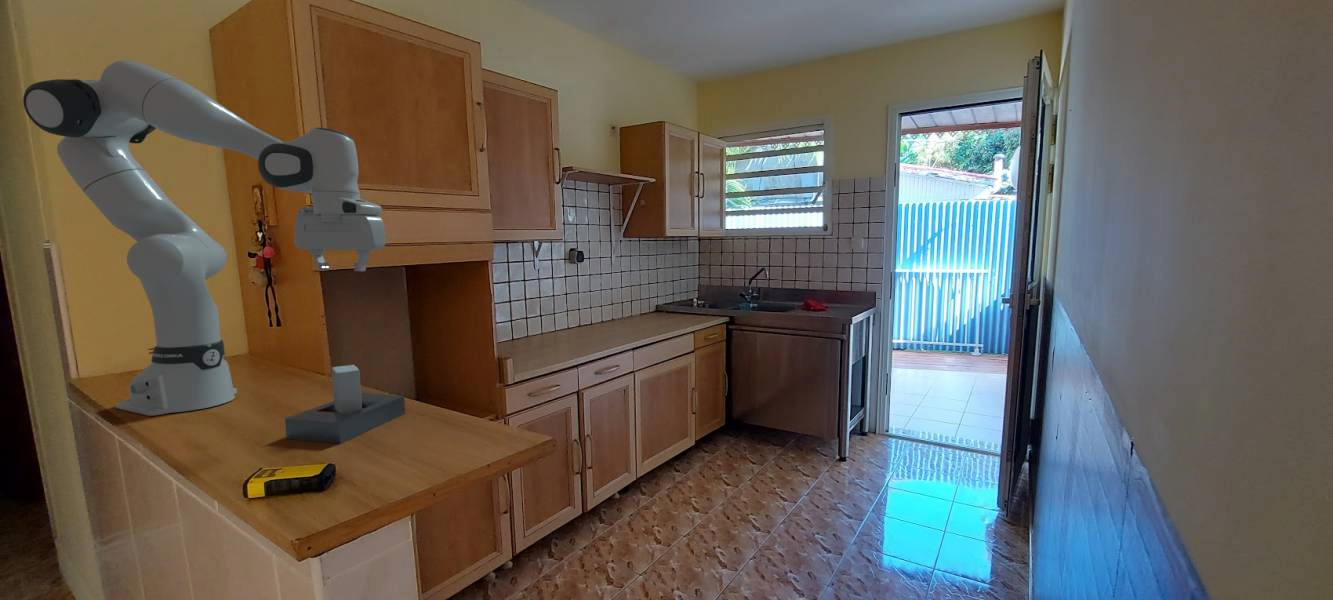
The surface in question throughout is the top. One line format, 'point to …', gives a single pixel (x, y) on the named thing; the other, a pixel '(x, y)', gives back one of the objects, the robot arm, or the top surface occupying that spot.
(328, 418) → the grey slotted block
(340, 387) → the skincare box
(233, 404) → the top surface
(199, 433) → the top surface
